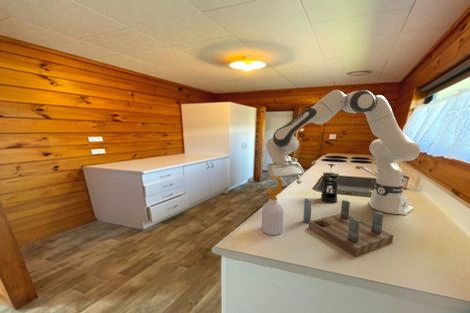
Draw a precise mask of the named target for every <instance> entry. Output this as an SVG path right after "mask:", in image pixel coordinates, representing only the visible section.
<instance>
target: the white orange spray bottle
mask: <svg viewBox="0 0 470 313" xmlns="http://www.w3.org/2000/svg"><path fill="white" fill-rule="evenodd" d="M269 177H270V179H271V178H274V179H276V180H277V188H276V189H267V190H266V192H267V193H268V194H269V195H270V196H269V197H268V198H269V199H268V202H266V203H264V204H263V206H262V208H261V210H262V211H261V231H262V232H263V233H264V234H267V235H270V236H277V235H280V234H283V231H284V212H285V211H284V207H283V206H282V205H281V204H280V203H278V198H277V196H276V195H277V194H281V192H282V186H283V184H282V181H281V180H280V179H279V178H278V177H276V176H272V175H270V174H269Z"/></svg>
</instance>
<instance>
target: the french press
mask: <svg viewBox="0 0 470 313" xmlns="http://www.w3.org/2000/svg"><path fill="white" fill-rule="evenodd" d="M327 165H328V166H329V167H330V169H332V168H333V166H336V164H333V163H328V164H327ZM322 176H323V178H324V177H329V179H324V180H323V179H322V181H321V184H322V187H321V195H320V196H321V197H320V201H322V202H323V203H327V204H337V203H338V186H339V181H337V180H338V179H339V176H340V174H338V173H334V172H323V173H322ZM331 179H332V180H331ZM331 187H332V188H331Z"/></svg>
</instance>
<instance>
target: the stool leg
mask: <svg viewBox="0 0 470 313" xmlns="http://www.w3.org/2000/svg"><path fill="white" fill-rule="evenodd" d="M303 202H304V205H303V219H302V222H303V223H305V224H309V221H312V219H311V218H312V217H311V216H312V199H311V198H304V201H303Z"/></svg>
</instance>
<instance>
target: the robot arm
mask: <svg viewBox="0 0 470 313" xmlns="http://www.w3.org/2000/svg"><path fill="white" fill-rule="evenodd" d="M340 111H341V112H343V113H346V114H357V113H358V114H359V113H363V114H364V115H365V117H366V120H367V123H368V126H369V127H370V130H371V132H372V134H373V135H374V137H377V139H374V140H372V142H370V144H369V152H370V153H371V155H372V156H373V158H374V161H375V165H376V180H375V182H374V185H373V186H374V189H373V190H372V191H371V196H370V200H368V202H367V204H368V205H369V206H370V208H372V209H374V210H376V211H378V212H381V213H388V214H396V215H397V214H398V215H402V216H407V214H409V213H410V212H411V211H413V210H414V206H412V205H409V197H408V196H407V195H405V193H404V191H403V190H406V185H404V184H402V183H403V174H404V172H403V169H402V168H401V167H400V166H399V164H398V163H397V161H399V162H410V161H414V160H416V159H417V158H418V157H419V155H420V153H421V146H420V144H419V143H417V142H416V141H414V140H412V139H410V137H408V135H406V134H405V133H404V131H403V130H402V129H401V128H400V126H399V125H398V122H397V120H396V117H395V114H394V112H393V110H392V107H391V105H390V104H389V102H388V100H387V99H386V98H385V96H383V95H380V94H379V95H374V93H373V92H371V91H369V90H366V89H363V90H362V89H361V90H355V91H352V92H350V93H344V92H343V91H341V90H339V89H334V90H331V91H330V92H328V93H327V94H325V95H324V96H323V97H322V98H320V99H319V100H318V102H316V103H315V104H314V105H313V106H311V107H308V108H306V109H304V110H303V111H301V112H300V113H299V114H298V115H297V116H295V117H294V118H293V119H292V120H290V121H289V122H288V123H286V124H285V125H283V126H281V127H279V128H278V129H276V130H275V132H273V135H272V137H271V138H269V139H268V140H267V141H266V143H265V148H266V151H267V154H268V155H269V157H270V159H271V161H272V162H271V163H268V164H267V165H266V168H267V170H268V173H269V175H272V176H276V177H278V178H279V179H280V180H281V181H282V186H283V187H284V186H287V185H288V183H287V181H286V180H284V179H290V178H291V179H292V178H295V179H296V183H297V185H300V184H301V183H302V180H301V177H302V176H303V175H304V174H305V172H304V169H303V167H302V166H301V164H300V163H299V162H298V159H297V158H296V157H291V156H289V155H290V154H292V153H294V152H296V151H297V150H298V149H299V146H300V142H299V139H298V138H297V137H296V136H295V133H297V132H298V131H299V130H300V129H302V128H304V126H306V125H307V124H310V123H313V124H315V125H323V124H325V123H327V122H328V121H330V120H331V119H332V118H334V116H335V115H336V114H337V113H338V112H340ZM270 179H272V180H273V181H274V180H275V181H276V180H277V179H274V178H271V177H270Z"/></svg>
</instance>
